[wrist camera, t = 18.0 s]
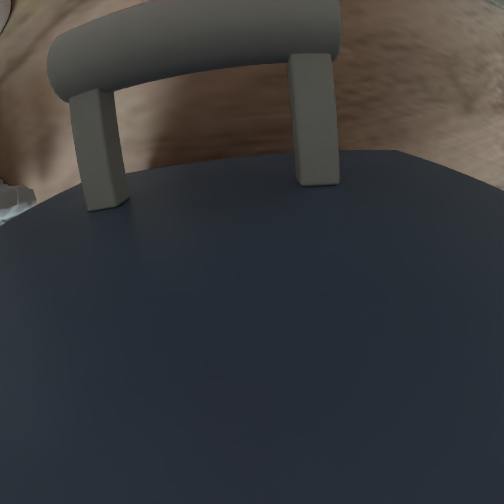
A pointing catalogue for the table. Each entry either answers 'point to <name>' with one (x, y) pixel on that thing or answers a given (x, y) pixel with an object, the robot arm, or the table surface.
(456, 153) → the table surface
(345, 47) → the table surface
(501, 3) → the sugar bowl
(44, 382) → the lid
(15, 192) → the mug
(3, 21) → the cup
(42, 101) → the table surface
